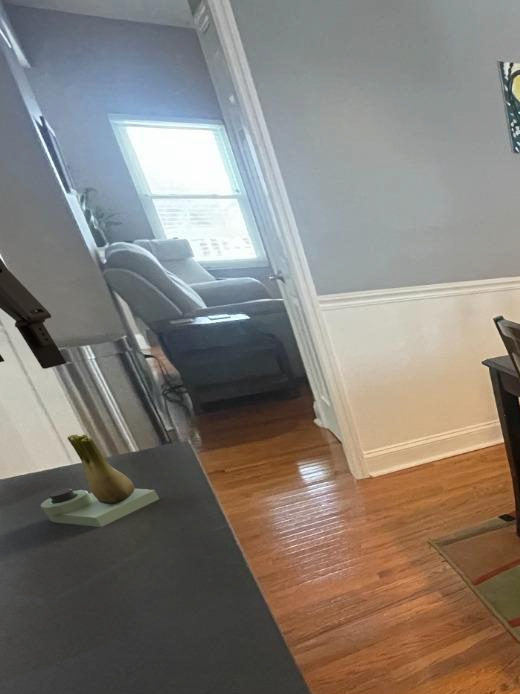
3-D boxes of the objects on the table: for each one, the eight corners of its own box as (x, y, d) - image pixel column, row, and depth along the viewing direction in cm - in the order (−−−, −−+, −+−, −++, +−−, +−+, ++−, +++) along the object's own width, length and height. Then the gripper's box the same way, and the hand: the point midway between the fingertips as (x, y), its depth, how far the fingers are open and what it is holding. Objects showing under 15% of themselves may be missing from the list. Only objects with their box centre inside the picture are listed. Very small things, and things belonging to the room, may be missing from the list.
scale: (44, 523, 99) (31, 505, 97) (109, 494, 107) (98, 477, 106) (97, 529, 97) (85, 511, 95) (159, 499, 105) (149, 482, 103)
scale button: (50, 503, 99) (44, 495, 98) (69, 495, 101) (63, 487, 100) (62, 504, 98) (56, 496, 97) (80, 496, 100) (75, 488, 100)
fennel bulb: (101, 498, 102) (60, 434, 97) (139, 487, 105) (102, 425, 99) (98, 510, 98) (55, 445, 93) (138, 499, 101) (99, 435, 95)
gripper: (-168, 226, 84) (-65, 370, 94) (-42, 222, 79) (52, 374, 89) (-92, 220, 90) (-3, 355, 100) (28, 216, 85) (109, 359, 95)
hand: (23, 365), depth 95 cm, fingers open, 13 cm apart
